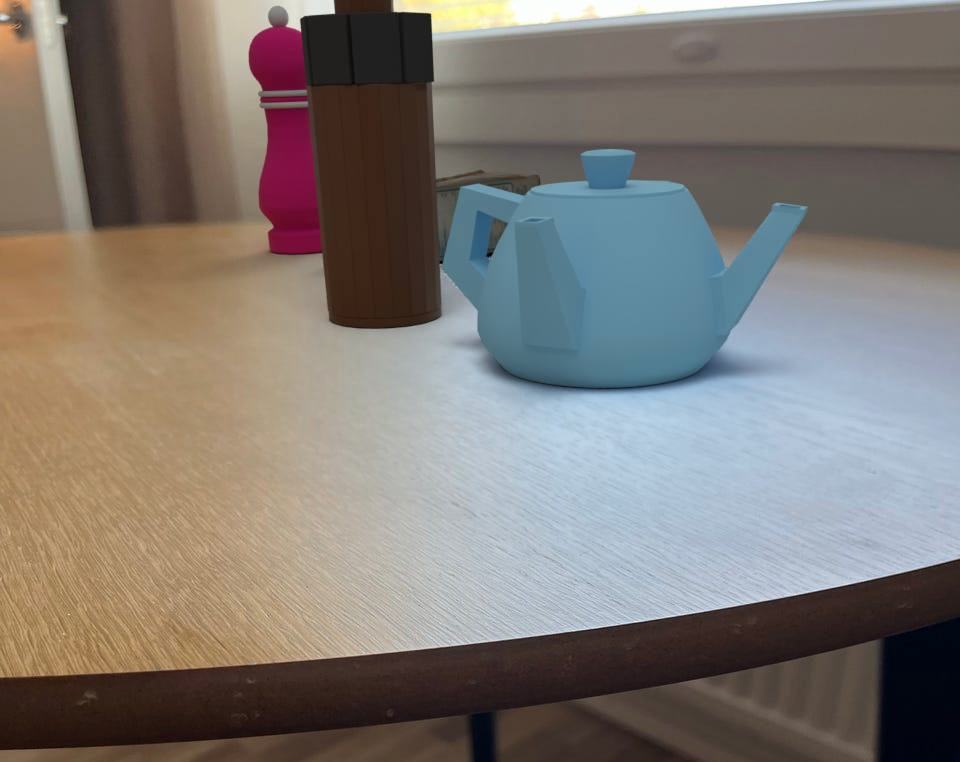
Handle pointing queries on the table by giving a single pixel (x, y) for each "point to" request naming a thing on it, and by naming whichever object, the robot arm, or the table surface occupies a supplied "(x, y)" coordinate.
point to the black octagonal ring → (367, 48)
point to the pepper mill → (286, 138)
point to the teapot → (605, 276)
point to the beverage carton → (451, 185)
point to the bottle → (376, 197)
